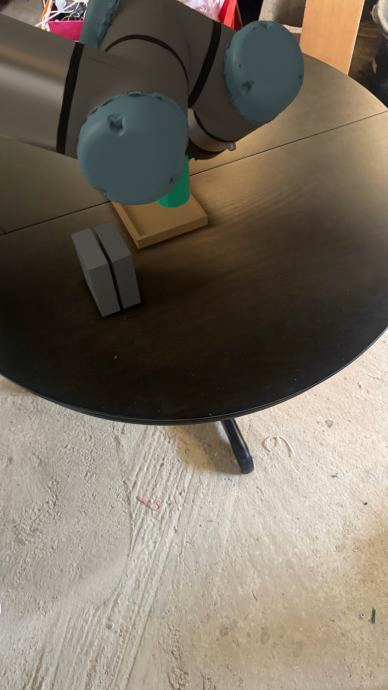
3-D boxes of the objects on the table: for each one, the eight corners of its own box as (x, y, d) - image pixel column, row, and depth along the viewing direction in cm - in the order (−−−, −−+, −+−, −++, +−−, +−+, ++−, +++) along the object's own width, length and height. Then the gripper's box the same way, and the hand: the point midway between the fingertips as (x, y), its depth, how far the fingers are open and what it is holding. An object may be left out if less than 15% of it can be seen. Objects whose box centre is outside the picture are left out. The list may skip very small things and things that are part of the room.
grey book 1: (86, 282, 80) (70, 234, 70) (103, 276, 80) (90, 227, 71) (102, 317, 75) (88, 270, 66) (120, 310, 76) (108, 263, 67)
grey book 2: (106, 275, 80) (93, 226, 71) (123, 269, 81) (112, 220, 72) (123, 309, 76) (112, 261, 67) (141, 302, 77) (131, 254, 68)
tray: (88, 162, 97) (86, 153, 95) (149, 143, 100) (148, 134, 98) (138, 249, 83) (137, 240, 82) (207, 224, 86) (207, 215, 85)
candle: (193, 185, 79) (190, 117, 69) (186, 209, 76) (183, 141, 66) (158, 182, 80) (150, 114, 70) (150, 206, 77) (141, 138, 66)
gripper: (153, 176, 54) (118, 206, 76) (284, 129, 58) (215, 170, 80) (127, 108, 52) (99, 159, 74) (265, 64, 56) (200, 125, 78)
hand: (160, 164), depth 77 cm, fingers closed on candle, 5 cm apart
